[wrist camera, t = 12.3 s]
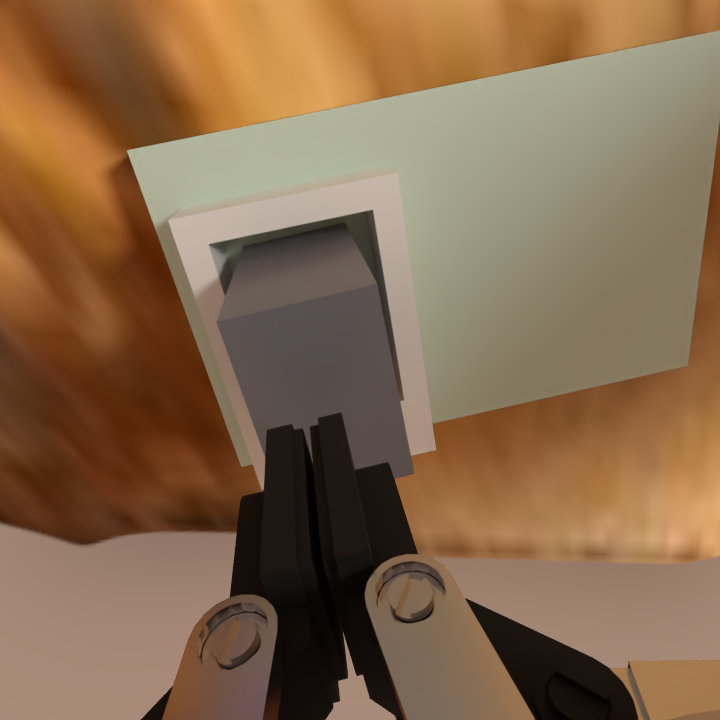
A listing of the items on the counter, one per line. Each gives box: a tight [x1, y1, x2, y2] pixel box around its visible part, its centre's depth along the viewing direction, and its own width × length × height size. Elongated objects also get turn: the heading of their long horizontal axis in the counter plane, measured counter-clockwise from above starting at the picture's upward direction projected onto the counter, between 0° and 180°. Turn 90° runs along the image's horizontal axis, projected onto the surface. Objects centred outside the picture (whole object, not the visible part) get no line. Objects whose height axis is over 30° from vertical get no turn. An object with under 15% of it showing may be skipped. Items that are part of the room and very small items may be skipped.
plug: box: [217, 222, 414, 479], centre depth 17 cm, size 4×8×8 cm, turn 12°
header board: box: [127, 30, 720, 490], centre depth 21 cm, size 22×14×4 cm, turn 101°
